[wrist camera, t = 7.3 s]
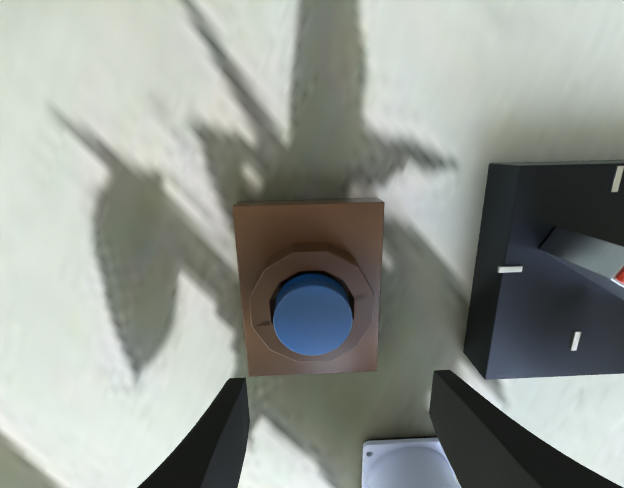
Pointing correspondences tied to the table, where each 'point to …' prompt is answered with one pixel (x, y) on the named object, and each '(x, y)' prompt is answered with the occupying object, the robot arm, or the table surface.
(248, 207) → the button block
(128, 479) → the table surface
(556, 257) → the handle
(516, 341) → the tap deck
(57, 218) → the table surface
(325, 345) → the button
